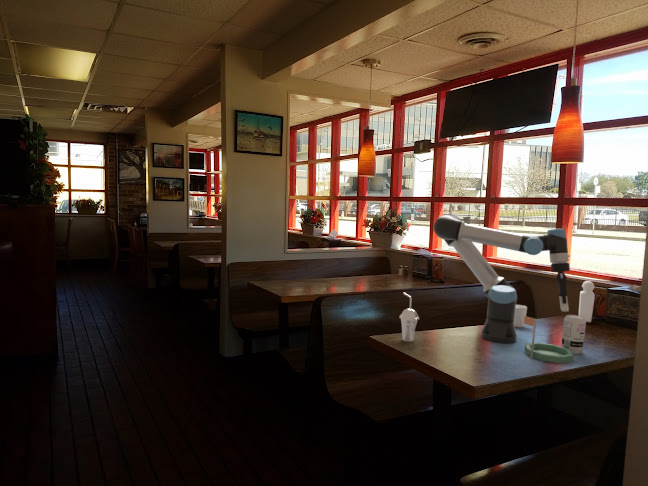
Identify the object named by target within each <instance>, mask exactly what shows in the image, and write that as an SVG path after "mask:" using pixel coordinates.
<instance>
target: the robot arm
mask: <svg viewBox="0 0 648 486" xmlns="http://www.w3.org/2000/svg"><path fill="white" fill-rule="evenodd" d="M433 223H434V224H433V232H434V234H435V236H437V238H440V239H442V240H443V241H444V242H445V244H447V245H448V247H453V248H454V250H455V251H456V252H457V253H458V255H459V256H460V258H461V259H462V260H463V261H464V264H466V265H467V267H468V268H469V269H470V271H471V272H472V273H473V275H474V276H475V277H476V278H477V280H478V281H479V282H480V284H481V285H482V286H483V293H484V294H485V296H486V297H487V298H488V300H487V309H486V310H487V311H486V312H487V313H486V320H485V322H484V325H483V327H482V329H481V333H480V336H481V338H483V339H485V340H488V341H491V342H495V343H502V344H512V343H516V342H517V338H518V337H517V331H516V327H514V315H515V305H517V300H518V293H517V290H516V288H514V287H513V286H512V285H511V284H510V283H509V282H508V281H507V279H506V278H505V277H503V276H499V275H498V274H497V272H496V271H495V269H494V268H493V267H492V266H491V264H490V263H489V262H488V260H487V259H486V258H485V257H484V256H483V254H482V253H481V251H480V250H479V249H478V247H477V246H476V245H475V244H474V243H476V244H482V245H486V246H491V247H496V248H501V249H506V250H511V251H517V252H520V253H526V254H528V255H529V256H537V255H539V254H540V253H541V252H546V251H549V252H548V253H549V262H550V269H551V270H550V271H551V272H552V273H557V274H556V275H555V278H556V283H557V286H558V298H559V306H560V310H561V312H569V309H570V307H569V301H568V291H567V290H568V289H567V275H566V274H565V272H570V267H571V266H570V262H569V261H570V260H569V257H571V255H570V254H569V251H568V238H567V234H566V233H567V232H566V230H565V229H564V228H553V229H548V230H547V233H545V234H537V235H536V234H535V235H526V234H525V235H524V234H519V233H514V232H509V231H505V230H499V229H495V228H489V227H484V226H481V225H480V226H478V225H475V224H468V223H466V222H465V221H464V220H461V218H460V217H459V216H457V215H454V214H445V215H441V216H439V217H437V218H436V220H435V222H433Z"/></svg>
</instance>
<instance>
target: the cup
mask: <svg viewBox="0 0 648 486" xmlns="http://www.w3.org/2000/svg"><path fill="white" fill-rule="evenodd" d="M524 323H525V324H524V325H528V326H531V327H532V328H533V329H532V338H531V339H532V340H531V343H525V347H524V351H525V355H526V356H528V355H529V356H528V357H530V359H532V358H534V359H535V360H539V361H543V362H548V363H556V364H566V363H570V362H571V363H572V362H574V354H572V352H571V351H570V350H569V349H566V348H563V347H561V346H559V345H557V344H551V343H545V342H536V341H535V337H536V328H537V319H536V318H533V317H529V316H527V315H526V316H525V317H524Z"/></svg>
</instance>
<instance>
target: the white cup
mask: <svg viewBox="0 0 648 486" xmlns="http://www.w3.org/2000/svg"><path fill="white" fill-rule="evenodd" d="M527 311H528V307H527V306H526V305H524V304H523V305H522V304H516V305H515V315H514V327H515V328H524V327H525V325H526V324H525V323H524V317H525V316H527V313H528V312H527Z"/></svg>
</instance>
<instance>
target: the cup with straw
mask: <svg viewBox="0 0 648 486" xmlns="http://www.w3.org/2000/svg"><path fill="white" fill-rule="evenodd" d="M403 295H404V296H406V297H408V298H409V308H405V309H404V310H403V311H402V313H401V314H400V315H399V319H400V322H401V335H402V336H401V337H402V341H404V342H413V341H414V338H415V332H416V326H417V323H418V321H419V320H420V317H419V315H418V313H417V311H416V310H415V309H413V308H412V299H413V298H412V296H411V295H409V294H407V293H406V292H403Z"/></svg>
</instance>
